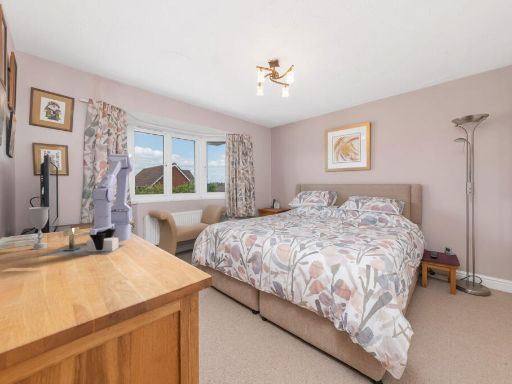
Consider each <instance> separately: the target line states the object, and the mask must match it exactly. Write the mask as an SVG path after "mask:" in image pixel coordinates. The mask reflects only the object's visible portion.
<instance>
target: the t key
mask: <svg viewBox="0 0 512 384" xmlns="http://www.w3.org/2000/svg"><path fill="white" fill-rule="evenodd" d="M89 234H90V231H89V232H88V231H87V232H83V233H80V226H75V227H71V228H66V229H63V231H62V235H63V237H68V246H69V249H72V248H75V245H76V243H75V239H77V238H81V237H85V236H90V235H89Z"/></svg>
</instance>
